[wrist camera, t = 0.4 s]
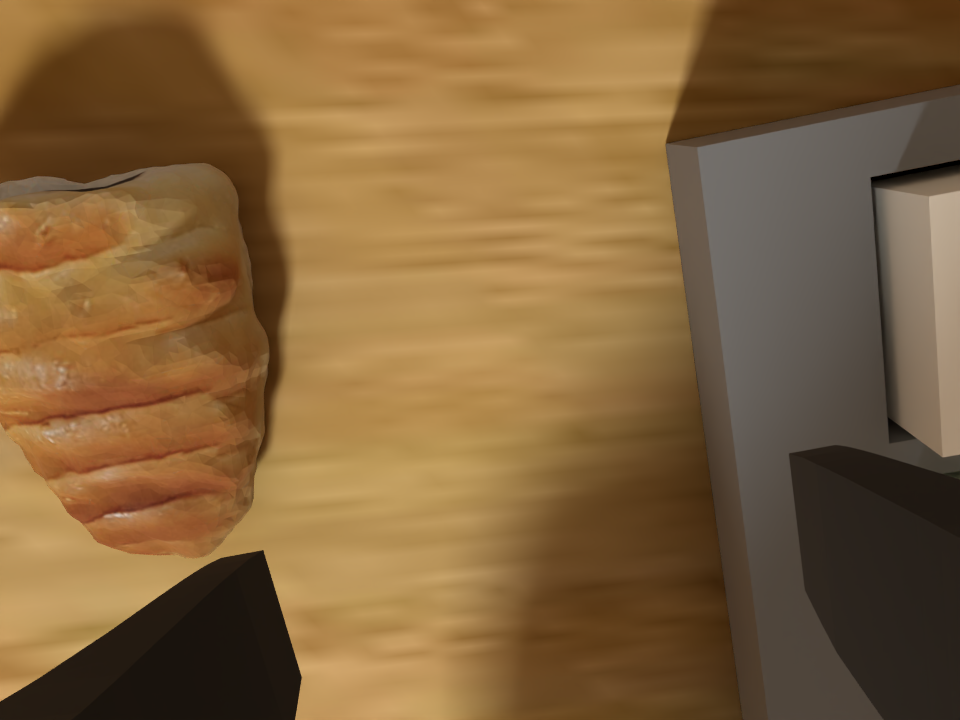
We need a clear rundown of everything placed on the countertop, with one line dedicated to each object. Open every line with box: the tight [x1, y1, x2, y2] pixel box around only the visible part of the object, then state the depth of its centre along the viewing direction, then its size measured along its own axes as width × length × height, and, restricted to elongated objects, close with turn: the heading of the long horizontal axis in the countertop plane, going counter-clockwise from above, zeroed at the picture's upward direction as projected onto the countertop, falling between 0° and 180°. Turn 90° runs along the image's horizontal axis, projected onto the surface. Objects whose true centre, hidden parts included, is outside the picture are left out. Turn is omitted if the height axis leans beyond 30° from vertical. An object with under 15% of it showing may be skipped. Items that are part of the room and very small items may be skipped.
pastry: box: [0, 163, 269, 558], centre depth 19 cm, size 9×7×4 cm
